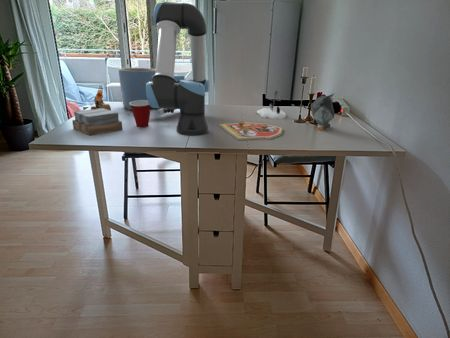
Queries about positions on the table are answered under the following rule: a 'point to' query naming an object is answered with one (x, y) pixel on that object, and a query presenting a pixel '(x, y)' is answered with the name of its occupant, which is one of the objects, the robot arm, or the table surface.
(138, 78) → the planter
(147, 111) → the plastic cup
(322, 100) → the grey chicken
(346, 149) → the table surface
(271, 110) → the figurine
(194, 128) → the robot arm
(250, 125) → the knob puzzle
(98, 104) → the orange brown statuette
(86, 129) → the stack of books
